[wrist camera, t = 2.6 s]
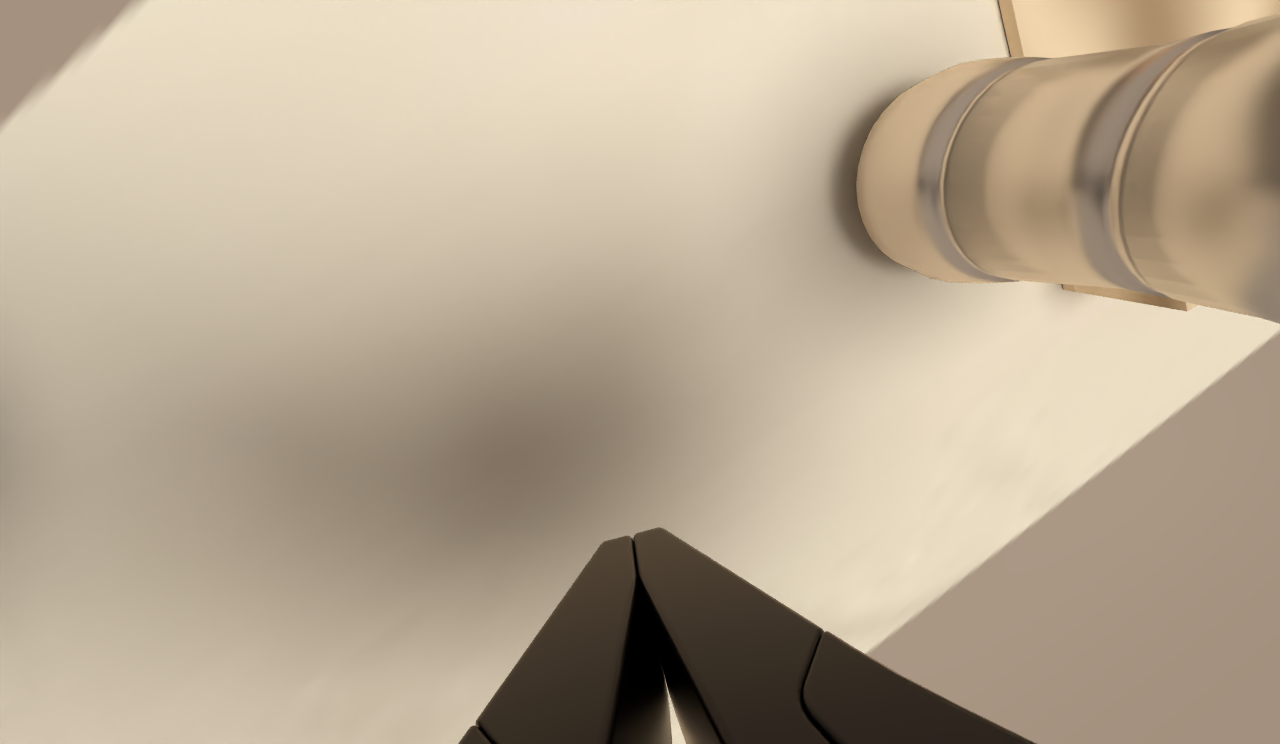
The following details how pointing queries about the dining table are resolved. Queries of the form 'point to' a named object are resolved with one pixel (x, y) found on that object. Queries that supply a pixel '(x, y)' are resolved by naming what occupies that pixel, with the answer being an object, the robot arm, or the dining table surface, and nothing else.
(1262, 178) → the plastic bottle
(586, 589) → the robot arm
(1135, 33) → the tray
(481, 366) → the dining table surface
